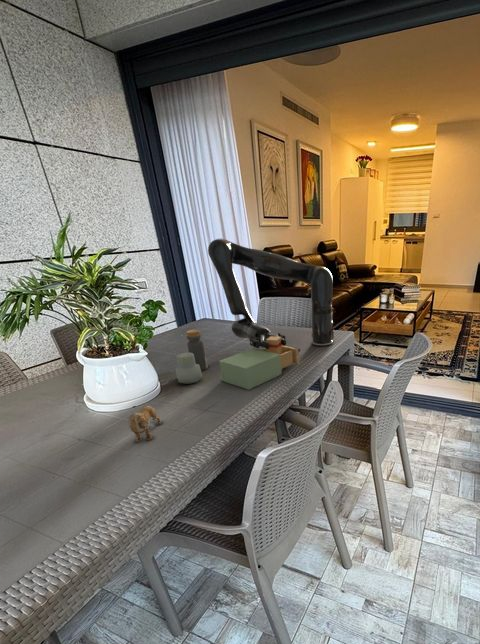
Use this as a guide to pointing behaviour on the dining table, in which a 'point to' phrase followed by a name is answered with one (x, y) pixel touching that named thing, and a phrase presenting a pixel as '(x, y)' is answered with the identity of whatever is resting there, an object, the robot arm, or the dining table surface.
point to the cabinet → (250, 368)
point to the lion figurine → (142, 422)
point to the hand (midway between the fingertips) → (276, 344)
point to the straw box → (274, 345)
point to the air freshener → (187, 369)
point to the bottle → (197, 348)
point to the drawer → (288, 356)
